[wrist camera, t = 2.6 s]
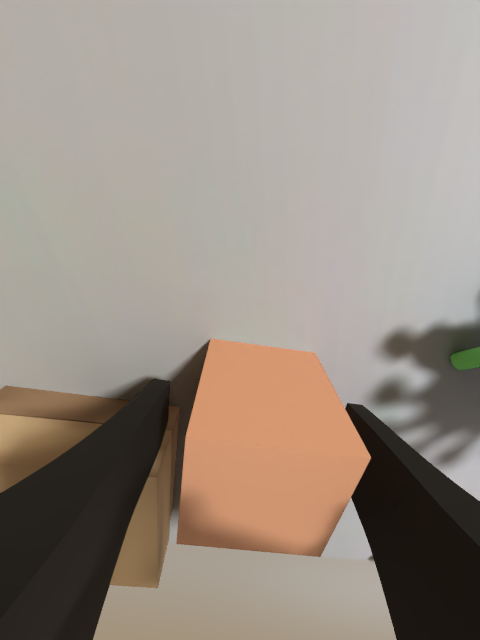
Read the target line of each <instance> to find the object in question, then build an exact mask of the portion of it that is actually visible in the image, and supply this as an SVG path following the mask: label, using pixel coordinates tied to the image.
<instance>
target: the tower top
mask: <svg viewBox="0 0 480 640" xmlns="http://www.w3.org/2000/svg"><path fill="white" fill-rule="evenodd" d="M101 425H102V424H97V423H87V422H77V421H67V420H56V419H46V418H36V417H25V416H15V415H5V414H0V493H1V492H3V491H5V490H6V489H8V488H10V487H11V486H13V485H15V484H16V483H18V482H20V481H21V480H23V479H24V478H26V477H28V476H29V475H31V474H32V473H34V472H36V471H37V470H39V469H40V468H42V467H43V466H45V465H47V464H48V463H50V462H51V461H53V460H54V459H56V458H57V457H59V456H60V455H62V454H63V453H65V452H66V451H67V450H69V449H70V448H72V447H73V446H75V445H76V444H77V443H79V442H80V441H81V440H83V439H84V438H85V437H87V436H88V435H89V434H91V433H92V432H93V431H95V430H96V429H97V428H98V427H100V426H101ZM171 442H172V431H169V430H165V434H164V437H163V440H162V444H161V447H160V449H159V452H158V454H157V457H156V459H155V462H154V464H153V466H152V469H151V471H150V474H149V476H148V479H147V481H146V483H145V486H144V488H143V491H142V493H141V496H140V498H139V500H138V503H137V505H136V508H135V510H134V513H133V515H132V518H131V521H130V523H129V526H128V529H127V532H126V535H125V538H124V541H123V544H122V547H121V551H120V554H119V557H118V560H117V563H116V566H115V569H114V572H113V576H112V579H111V582H110V585H119V586H133V587H149V588H158V585H159V580H160V576H161V572H162V567H163V562H164V558H165V554H166V549H167V545H168V540H169V524H170V483H171Z"/></svg>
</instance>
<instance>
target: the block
mask: <svg viewBox="0 0 480 640" xmlns="http://www.w3.org/2000/svg"><path fill="white" fill-rule="evenodd" d="M370 459H371V456H370V454H369V452H368V451H367V449H366V447H365V445H364V443H363V441H362V439H361V438H360V436H359V434H358V432H357V430H356V428H355V426H354V425H353V423H352V421H351V419H350V417H349V415H348V413H347V412H346V410H345V408H344V406H343V404H342V402H341V400H340V398H339V397H338V395H337V393H336V391H335V389H334V387H333V385H332V384H331V382H330V380H329V378H328V376H327V374H326V372H325V371H324V369H323V367H322V365H321V363H320V361H319V359H318V358H317V356H316V354H315V353H313V352H305V351H298V350H290V349H283V348H275V347H268V346H261V345H253V344H246V343H238V342H231V341H223V340H216V339H210V343H209V347H208V351H207V355H206V359H205V362H204V366H203V370H202V374H201V378H200V382H199V386H198V390H197V394H196V398H195V402H194V406H193V409H192V413H191V417H190V421H189V425H188V429H187V433H186V437H185V449H184V461H183V473H182V485H181V497H180V509H179V520H178V532H177V544H184V545H195V546H206V547H217V548H228V549H239V550H251V551H262V552H273V553H284V554H295V555H306V556H317V557H320V556H321V554H322V552H323V551H324V549H325V547H326V545H327V543H328V541H329V539H330V537H331V535H332V533H333V531H334V529H335V527H336V525H337V523H338V521H339V519H340V518H341V516H342V514H343V512H344V510H345V508H346V506H347V504H348V502H349V500H350V498H351V496H352V494H353V492H354V490H355V488H356V486H357V485H358V483H359V481H360V479H361V477H362V475H363V473H364V471H365V469H366V467H367V465H368V463H369V461H370Z"/></svg>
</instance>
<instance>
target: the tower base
mask: <svg viewBox="0 0 480 640" xmlns="http://www.w3.org/2000/svg"><path fill="white" fill-rule="evenodd" d="M128 402H130V401H126V400H118V399H110V398H102V397H94V396H86V395H78V394H69V393H61V392H53V391H45V390H37V389H29V388H20V387H12V386H5V387H3V388H2V389H1V390H0V414H5V415H15V416H25V417H36V418H46V419H56V420H67V421H77V422H87V423H97V424H103V423H105V422H106V421H107V420H109V419H110V418H111V417H112V416H113V415H115V414H116V413H117V412H118V411H119V410H120V409H121V408H123V407H124V406H125V405H126V404H127V403H128ZM179 411H180V407H175V406H169V416H168V423H167V427H166V430H169V431H172V442H171V483H170V517H171V512H172V507H173V493H174V479H175V466H176V452H177V438H178V425H179Z"/></svg>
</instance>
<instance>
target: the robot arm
mask: <svg viewBox="0 0 480 640" xmlns="http://www.w3.org/2000/svg"><path fill="white" fill-rule="evenodd" d="M169 394H170V381H166V380H158V379H154V380H153V381H151V382H150V383H149V384H148V385H147V386H146V387H145V388H144V389H143V390H142V391H141V392H139V393H138V394H137V395H136V396H135V397H134V398H133V399H132V400H131V401H130V402H128V403H127V404H126V405H125V406H124V407H123V408H121V409H120V410H119V411H118V412H117V413H116V414H115V415H113V416H112V417H111V418H110V419H109V420H107V421H106V422H105V423H103V424H102V425H101V426H100V427H98V428H97V429H96V430H95V431H93V432H92V433H91V434H89V435H88V436H87V437H85V438H84V439H83V440H81V441H80V442H79V443H77V444H76V445H75V446H73V447H72V448H70V449H69V450H67V451H66V452H65V453H63V454H62V455H60V456H59V457H57V458H56V459H54V460H53V461H51V462H50V463H48V464H47V465H45V466H43V467H42V468H40V469H39V470H37V471H36V472H34V473H32V474H31V475H29V476H28V477H26V478H24V479H23V480H21V481H20V482H18V483H16V484H15V485H13V486H11V487H10V488H8V489H6V490H5V491H3V492H1V493H0V640H93V637H94V634H95V630H96V627H97V624H98V620H99V617H100V614H101V610H102V607H103V604H104V601H105V598H106V594H107V591H108V588H109V585H110V582H111V579H112V576H113V572H114V569H115V566H116V563H117V560H118V557H119V554H120V551H121V547H122V544H123V541H124V538H125V535H126V532H127V529H128V526H129V523H130V521H131V518H132V515H133V513H134V510H135V508H136V505H137V503H138V500H139V498H140V496H141V493H142V491H143V488H144V486H145V483H146V481H147V479H148V476H149V474H150V471H151V469H152V466H153V464H154V462H155V459H156V457H157V454H158V452H159V449H160V447H161V444H162V440H163V437H164V434H165V430H166V427H167V423H168V416H169ZM345 410H346V412H347V413H348V415H349V417H350V419H351V421H352V423H353V425H354V426H355V428H356V430H357V432H358V434H359V436H360V438H361V439H362V441H363V443H364V445H365V447H366V449H367V451H368V452H369V454H370V456H371V459H370V461H369V463H368V465H367V467H366V469H365V471H364V473H363V475H362V477H361V479H360V481H359V483H358V485H357V486H356V488H355V490H354V492H353V494H352V496H351V498H352V500H353V503H354V505H355V508H356V511H357V513H358V516H359V518H360V521H361V523H362V526H363V528H364V531H365V534H366V536H367V539H368V542H369V545H370V548H371V551H372V554H373V557H374V561H375V564H376V567H377V571H378V574H379V577H380V581H381V584H382V587H383V591H384V595H385V598H386V602H387V605H388V609H389V613H390V616H391V620H392V623H393V627H394V631H395V635H396V639H397V640H480V501H478V500H477V499H476V498H474V497H473V496H472V495H470V494H469V493H467V492H466V491H465V490H463V489H462V488H461V487H460V486H458V485H457V484H456V483H454V482H453V481H452V480H450V479H449V478H448V477H447V476H445V475H444V474H443V473H442V472H441V471H439V470H438V469H437V468H436V467H434V466H433V465H432V464H431V463H429V462H428V461H427V460H426V459H425V458H423V457H422V456H421V455H420V454H419V453H417V452H416V451H415V450H414V449H413V448H412V447H410V446H409V445H408V444H407V443H406V442H405V441H403V440H402V439H401V438H400V437H399V436H398V435H397V434H395V433H394V432H393V431H392V430H391V429H390V428H389V427H388V426H386V425H385V424H384V423H383V422H382V421H381V420H380V419H378V418H377V417H376V416H375V415H374V414H373V413H371V412H370V411H369V410H368V409H366V408H365V407H364V406H363V405H358V404H350V403H347V406H346V408H345Z"/></svg>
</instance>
